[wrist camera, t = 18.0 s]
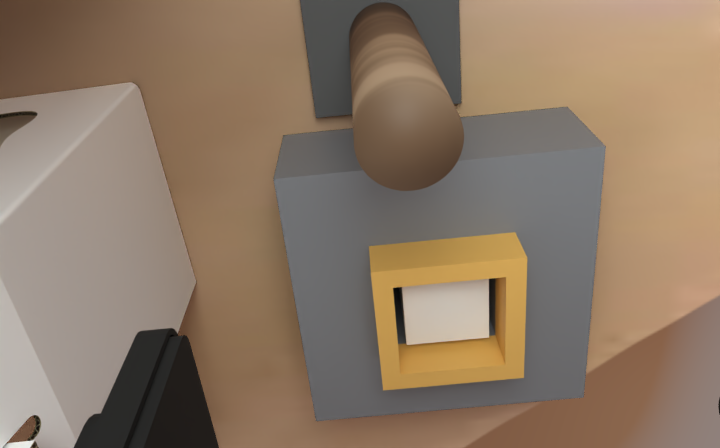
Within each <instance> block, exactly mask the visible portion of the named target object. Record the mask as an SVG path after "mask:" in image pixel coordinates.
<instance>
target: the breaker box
mask: <svg viewBox="0 0 720 448" xmlns="http://www.w3.org/2000/svg"><path fill="white" fill-rule="evenodd" d="M460 119H461V121H462V125H463V129H464V144H463V149H462V152H461V155H460V157H459V159H458V162H457V163H456V165H455V166H454V168H453V169H452V170H451V171H450V172H449V173H448V174H447V175H446V176H445V177H444V178H443V179H441V180H440V181H439V182H437V183H435V184H433V185H431V186H429V187H427V188H423V189H420V190H414V191H398V190H393V189H390V188H387V187H384V186H382V185H380V184H378V183H377V182H375V181H374V180H372V179H371V178H370V177H369V176H368V175H367V174H366V173H365V172H364V170H363V169H362V168H361V166H360V164H359V162H358V160H357V157H356V154H355V150H354V137H353V128H352V129H342V130H332V131H322V132H312V133H302V134H292V135H283V140H282V144H281V149H280V153H279V157H278V162H277V166H276V171H275V175H274V184H275V190H276V196H277V202H278V207H279V213H280V219H281V224H282V230H283V236H284V241H285V247H286V253H287V258H288V264H289V270H290V276H291V281H292V287H293V293H294V298H295V304H296V310H297V315H298V321H299V327H300V332H301V338H302V344H303V349H304V355H305V361H306V367H307V372H308V378H309V384H310V389H311V395H312V401H313V406H314V412H315V418H316V421H324V420H335V419H346V418H358V417H369V416H380V415H391V414H403V413H414V412H425V411H436V410H447V409H459V408H470V407H481V406H492V405H504V404H515V403H526V402H537V401H548V400H560V399H571V398H582V397H584V387H585V376H586V365H587V353H588V342H589V330H590V319H591V308H592V296H593V285H594V273H595V262H596V251H597V239H598V228H599V216H600V205H601V193H602V182H603V171H604V159H605V148H606V146H605V145H604V144H603V143H602V142H601V141H600V140H599V139H598V138H597V137H596V136H595V135H594V134H593V133H592V132H591V131H590V130H589V129H588V128H587V126H586V125H585V124H584V123H583V122H582V121H581V120H580V119H579V118H578V117H577V116H576V115H575V114H574V113H573V112H572V111H571V110H570V109H569V108H568V107H561V108H551V109H541V110H531V111H521V112H511V113H501V114H491V115H481V116H471V117H461V118H460ZM481 279H489V338H478V339H467V340H456V341H446V342H435V343H424V344H413V345H407V344H406V337H405V329H404V322H403V314H402V307H401V300H400V292H399V287H407V286H417V285H428V284H438V283H449V282H460V281H470V280H481Z"/></svg>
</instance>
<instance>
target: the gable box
mask: <svg viewBox="0 0 720 448" xmlns="http://www.w3.org/2000/svg"><path fill="white" fill-rule="evenodd" d="M195 284H196V279H195V276H194V272H193V269H192V266H191V262H190V259H189V255H188V252H187V249H186V245H185V242H184V238H183V235H182V232H181V228H180V225H179V221H178V218H177V215H176V211H175V208H174V204H173V201H172V198H171V194H170V191H169V187H168V184H167V180H166V177H165V174H164V170H163V167H162V163H161V160H160V157H159V153H158V150H157V146H156V143H155V140H154V136H153V133H152V129H151V126H150V123H149V119H148V116H147V112H146V109H145V106H144V102H143V99H142V95H141V92H140V89H139V87H138V86H137V85H135V84H134V83H132V82H129V83H121V84H114V85H106V86H99V87H91V88H84V89H76V90H68V91H61V92H53V93H46V94H38V95H31V96H23V97H16V98H8V99H1V100H0V448H74V446H75V443H76V441H77V439H78V437H79V435H80V433H81V431H82V429H83V426H84V425H85V423H86V421H87V420H88V418H89V417H91V416H92V415H93V414H99V413H101V412H102V409H103V407H104V405H105V403H106V401H107V398H108V396H109V394H110V392H111V389H112V387H113V385H114V383H115V380H116V378H117V376H118V374H119V372H120V369H121V367H122V365H123V363H124V360H125V358H126V356H127V354H128V352H129V349H130V347H131V345H132V343H133V340H134V338H135V336H136V335H137V333H138V332H140V331H144V330H155V329H166V328H173V329H175V331H176V332H177V334H178V331H179V328H180V326H181V323H182V320H183V317H184V314H185V312H186V309H187V306H188V303H189V301H190V298H191V295H192V292H193V290H194V287H195ZM31 416H34V418H35V421H36V426H35V430H34V432H33V434H32V435H31V436H30V437H29V438H28V440H27V441H23V442H15V443H7V442H8V441H9V440H10V438H11V437H12V436H13V435H14V434H15V433H16V432H17V431H18V429H19V428H20V427H21V426H22V425H23V424H24V423H25V422H26V421H27V419H28V418H29V417H31Z"/></svg>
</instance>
